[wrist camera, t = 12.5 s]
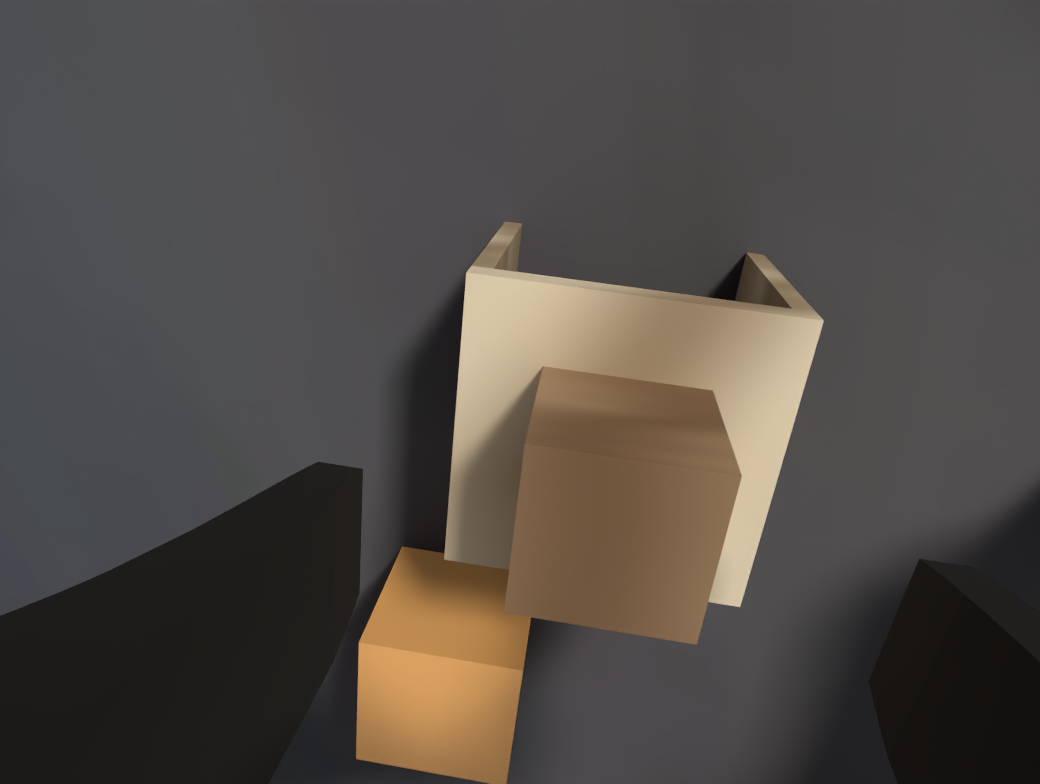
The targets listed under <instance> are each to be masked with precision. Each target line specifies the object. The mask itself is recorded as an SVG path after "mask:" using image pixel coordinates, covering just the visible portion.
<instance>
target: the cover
mask: <svg viewBox="0 0 1040 784" xmlns="http://www.w3.org/2000/svg"><path fill="white" fill-rule="evenodd" d="M521 231H522V224H521V223H514V222H506V221H505V223H504V224H503V225H502V227H501V228H500V229H499V230H498V232H497V233H496V234H495V236H494V237H493V238H492V240H491V241H490V242H489V244H488V245H487V246H486V247H485V249H484V250H483V251H482V253H481V254H480V255H479V257H478V258H477V259H476V261H475V262H474V263H473V264H472V266H471V267H470V268H469V270H468V271H467V272H466V283H465V296H464V309H463V322H462V335H461V348H460V361H459V373H458V386H457V399H456V412H455V425H454V438H453V451H452V464H451V477H450V490H449V503H448V516H447V529H446V542H445V555H444V560H450V561H457V562H463V563H469V564H475V565H481V566H488V567H494V568H500V569H506V570H509V575H508V583H507V591H506V599H505V608H504V613H508V614H514V615H520V616H526V617H532V618H538V619H544V620H550V621H556V622H562V623H569V624H575V625H581V626H587V627H593V628H599V629H605V630H611V631H617V632H623V633H629V634H636V635H642V636H648V637H654V638H660V639H666V640H672V641H678V642H684V643H690V644H696V645H697V642H698V638H699V634H700V631H701V627H702V623H703V619H704V616H705V612H706V608H707V604H708V602H712V603H718V604H725V605H731V606H737V607H740V606H741V602H742V599H743V595H744V592H745V589H746V585H747V582H748V578H749V575H750V571H751V568H752V565H753V561H754V558H755V554H756V551H757V547H758V544H759V541H760V537H761V534H762V530H763V527H764V523H765V520H766V517H767V513H768V510H769V506H770V503H771V500H772V496H773V493H774V489H775V486H776V482H777V479H778V476H779V472H780V469H781V465H782V462H783V458H784V455H785V452H786V448H787V445H788V441H789V438H790V435H791V431H792V428H793V424H794V421H795V417H796V414H797V411H798V407H799V404H800V400H801V397H802V393H803V390H804V387H805V383H806V380H807V376H808V373H809V369H810V366H811V363H812V359H813V356H814V352H815V349H816V346H817V342H818V339H819V335H820V332H821V328H822V325H823V322H824V320H823V319H822V318H821V317H820V316H819V315H818V314H817V313H816V312H815V310H814V309H813V308H812V307H811V306H810V305H809V304H808V303H807V302H806V301H805V299H804V298H803V297H802V296H801V295H800V294H799V293H798V292H797V291H796V290H795V288H794V287H793V286H792V285H791V284H790V283H789V282H788V281H787V280H786V279H785V277H784V276H783V275H782V274H781V273H780V272H779V271H778V270H777V269H776V268H775V266H774V265H773V264H772V263H771V262H770V261H769V260H768V259H767V258H766V257H765V255H761V254H753V253H746V256H745V261H744V265H743V269H742V273H741V278H740V282H739V286H738V290H737V294H736V299H735V301H731V300H723V299H716V298H708V297H701V296H693V295H686V294H678V293H671V292H663V291H656V290H649V289H641V288H634V287H626V286H619V285H611V284H604V283H596V282H589V281H581V280H574V279H566V278H559V277H551V276H544V275H537V274H529V273H522V272H517V268H518V259H519V250H520V240H521Z"/></svg>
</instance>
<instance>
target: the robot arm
mask: <svg viewBox="0 0 1040 784" xmlns="http://www.w3.org/2000/svg"><path fill="white" fill-rule="evenodd" d="M362 479H363V469H359V468H353V467H347V466H341V465H335V464H328V463H322V462H317V463H315V464H313V465H311V466H309V467H307V468H305V469H303V470H301V471H299V472H297V473H295V474H293V475H291V476H290V477H288V478H286V479H284V480H282V481H281V482H279V483H277V484H275V485H273V486H272V487H270V488H268V489H266V490H264V491H263V492H261V493H259V494H257V495H255V496H254V497H252V498H250V499H248V500H246V501H245V502H243V503H241V504H239V505H237V506H235V507H234V508H232V509H230V510H228V511H226V512H224V513H223V514H221V515H219V516H217V517H215V518H213V519H212V520H210V521H208V522H206V523H204V524H202V525H201V526H199V527H197V528H195V529H193V530H191V531H189V532H187V533H185V534H183V535H181V536H179V537H177V538H175V539H173V540H171V541H169V542H167V543H165V544H163V545H161V546H159V547H157V548H155V549H152V550H150V551H148V552H146V553H144V554H142V555H140V556H138V557H136V558H134V559H132V560H130V561H128V562H126V563H124V564H122V565H120V566H118V567H116V568H114V569H112V570H110V571H107V572H105V573H103V574H101V575H98V576H96V577H94V578H92V579H90V580H87V581H85V582H83V583H80V584H78V585H76V586H73V587H71V588H69V589H66V590H64V591H62V592H59V593H57V594H54V595H52V596H49V597H47V598H44V599H42V600H39V601H37V602H34V603H32V604H29V605H27V606H24V607H22V608H19V609H17V610H14V611H12V612H9V613H7V614H4V615H1V616H0V784H268V783H269V781H270V779H271V777H272V775H273V774H274V772H275V770H276V768H277V766H278V764H279V762H280V761H281V759H282V757H283V755H284V753H285V751H286V749H287V747H288V746H289V744H290V742H291V740H292V738H293V736H294V734H295V733H296V731H297V729H298V727H299V725H300V723H301V721H302V720H303V718H304V716H305V714H306V712H307V710H308V708H309V706H310V704H311V703H312V701H313V699H314V697H315V695H316V693H317V691H318V689H319V687H320V685H321V684H322V682H323V680H324V678H325V676H326V674H327V672H328V670H329V668H330V666H331V664H332V662H333V660H334V658H335V656H336V653H337V650H338V648H339V645H340V643H341V640H342V638H343V635H344V633H345V630H346V628H347V625H348V622H349V620H350V617H351V614H352V611H353V609H354V606H355V603H356V601H357V598H358V595H359V590H360V553H361V516H362ZM869 683H870V688H871V692H872V696H873V700H874V705H875V709H876V713H877V717H878V722H879V725H880V729H881V733H882V736H883V740H884V744H885V747H886V751H887V755H888V758H889V761H890V764H891V766H892V769H893V772H894V774H895V777H896V780H897V782H898V784H1040V613H1039V612H1038V611H1036V610H1035V609H1033V608H1032V607H1030V606H1029V605H1028V604H1026V603H1025V602H1023V601H1022V600H1020V599H1019V598H1018V597H1016V596H1015V595H1013V594H1012V593H1010V592H1009V591H1007V590H1006V589H1004V588H1003V587H1001V586H1000V585H998V584H997V583H995V582H994V581H992V580H990V579H989V578H987V577H986V576H984V575H982V574H981V573H979V572H977V571H976V570H974V569H972V568H970V567H967V566H960V565H954V564H948V563H942V562H936V561H929V560H923V559H919V561H918V564H917V566H916V568H915V571H914V573H913V576H912V578H911V580H910V583H909V585H908V588H907V590H906V592H905V595H904V597H903V600H902V602H901V605H900V607H899V609H898V612H897V614H896V617H895V619H894V621H893V624H892V626H891V629H890V631H889V633H888V636H887V638H886V641H885V643H884V646H883V648H882V650H881V653H880V655H879V658H878V660H877V662H876V665H875V667H874V670H873V672H872V674H871V677H870V679H869Z"/></svg>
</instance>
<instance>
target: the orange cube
mask: <svg viewBox="0 0 1040 784" xmlns="http://www.w3.org/2000/svg"><path fill="white" fill-rule="evenodd" d="M444 555H445V553H440V552H434V551H428V550H422V549H415V548H409V547H403V546H402V548H401V550H400V552H399V554H398V557H397V559H396V561H395V563H394V566H393V568H392V570H391V572H390V574H389V577H388V579H387V581H386V583H385V586H384V588H383V590H382V592H381V594H380V597H379V599H378V601H377V603H376V605H375V608H374V610H373V612H372V614H371V617H370V619H369V621H368V623H367V625H366V628H365V630H364V632H363V634H362V637H361V639H360V641H359V657H358V698H357V739H356V759H359V760H365V761H370V762H376V763H381V764H386V765H392V766H397V767H403V768H408V769H414V770H419V771H425V772H430V773H436V774H441V775H446V776H452V777H457V778H463V779H468V780H474V781H479V782H485V783H490V784H506V782H507V776H508V769H509V762H510V756H511V749H512V742H513V735H514V729H515V722H516V715H517V709H518V702H519V695H520V688H521V682H522V675H523V668H524V662H525V655H526V648H527V641H528V635H529V628H530V621H531V617H526V616H520V615H514V614H508V613H504V608H505V599H506V591H507V583H508V575H509V570H506V569H500V568H494V567H488V566H481V565H475V564H469V563H463V562H457V561H450V560H444Z"/></svg>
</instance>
